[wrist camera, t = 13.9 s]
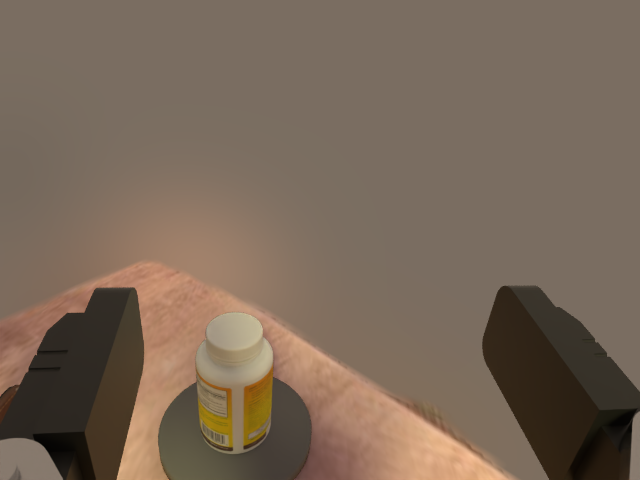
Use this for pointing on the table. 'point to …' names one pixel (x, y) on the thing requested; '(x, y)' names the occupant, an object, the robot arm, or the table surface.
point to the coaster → (245, 468)
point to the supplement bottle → (234, 383)
